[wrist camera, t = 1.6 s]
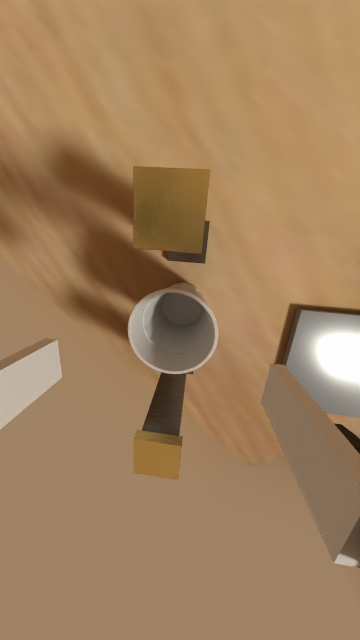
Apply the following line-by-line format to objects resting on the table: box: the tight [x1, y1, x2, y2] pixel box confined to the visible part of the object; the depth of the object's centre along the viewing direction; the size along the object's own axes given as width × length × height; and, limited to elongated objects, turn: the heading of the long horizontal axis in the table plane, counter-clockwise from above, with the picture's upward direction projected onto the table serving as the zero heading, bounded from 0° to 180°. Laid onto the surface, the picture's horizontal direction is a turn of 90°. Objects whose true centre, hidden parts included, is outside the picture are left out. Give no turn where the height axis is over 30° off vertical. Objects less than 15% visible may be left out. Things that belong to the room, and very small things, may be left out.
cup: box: [128, 283, 218, 374], centre depth 22 cm, size 8×8×12 cm
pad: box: [282, 308, 360, 418], centre depth 28 cm, size 16×16×1 cm
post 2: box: [134, 371, 193, 480], centre depth 23 cm, size 5×5×17 cm
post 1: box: [133, 166, 210, 263], centre depth 17 cm, size 5×5×17 cm
